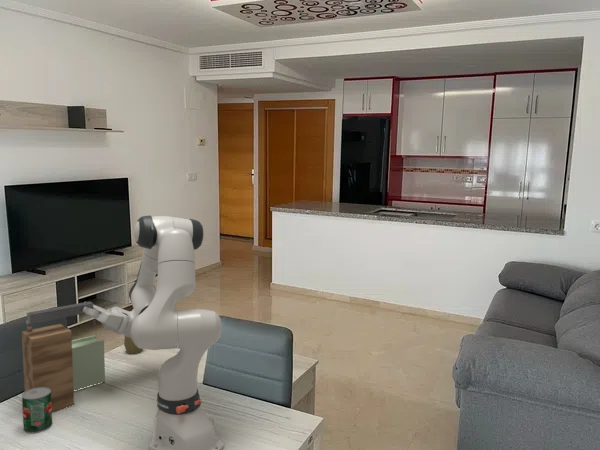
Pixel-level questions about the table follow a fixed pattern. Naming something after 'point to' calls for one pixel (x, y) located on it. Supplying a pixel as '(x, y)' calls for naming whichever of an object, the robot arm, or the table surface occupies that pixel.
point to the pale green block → (88, 362)
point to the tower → (49, 362)
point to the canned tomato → (37, 409)
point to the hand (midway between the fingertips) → (80, 307)
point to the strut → (57, 312)
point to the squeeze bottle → (131, 346)
